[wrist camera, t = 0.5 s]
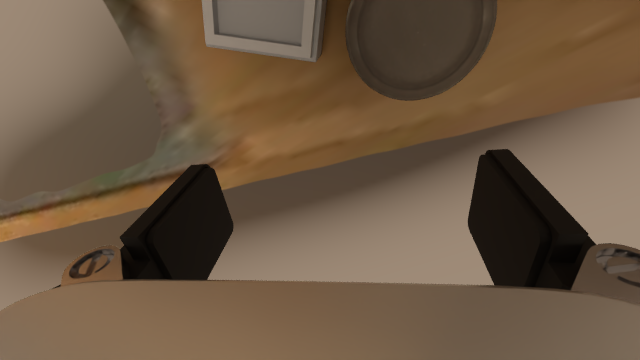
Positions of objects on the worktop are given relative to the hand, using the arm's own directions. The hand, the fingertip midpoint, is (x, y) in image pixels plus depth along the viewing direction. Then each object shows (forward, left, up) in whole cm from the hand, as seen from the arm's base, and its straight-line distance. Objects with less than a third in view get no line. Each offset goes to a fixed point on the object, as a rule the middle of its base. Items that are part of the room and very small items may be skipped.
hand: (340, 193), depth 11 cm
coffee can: (-4, +4, -30) cm, 30 cm away
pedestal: (-5, -10, -29) cm, 32 cm away
